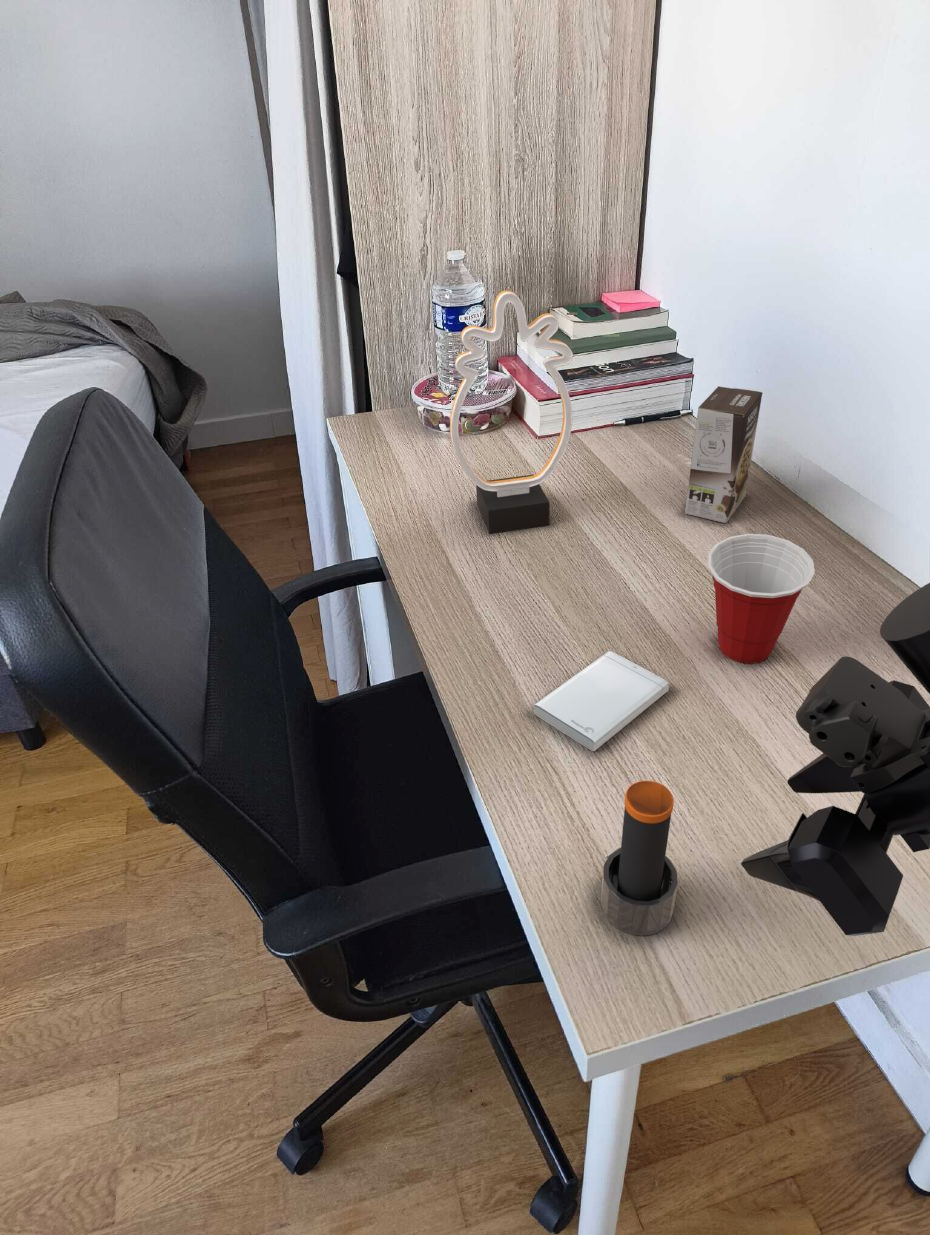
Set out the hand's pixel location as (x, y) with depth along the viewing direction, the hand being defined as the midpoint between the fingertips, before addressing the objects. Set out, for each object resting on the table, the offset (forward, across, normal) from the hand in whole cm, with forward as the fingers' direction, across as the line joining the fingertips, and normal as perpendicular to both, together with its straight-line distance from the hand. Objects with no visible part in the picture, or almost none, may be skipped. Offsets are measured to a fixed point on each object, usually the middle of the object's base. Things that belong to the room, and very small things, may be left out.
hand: (769, 824), depth 58 cm
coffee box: (+27, -65, -15) cm, 72 cm away
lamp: (+44, -48, -32) cm, 72 cm away
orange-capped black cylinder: (+15, +1, +3) cm, 15 cm away
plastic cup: (+17, -36, -2) cm, 40 cm away
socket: (+16, +1, +3) cm, 16 cm away
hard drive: (+24, -19, -8) cm, 32 cm away
